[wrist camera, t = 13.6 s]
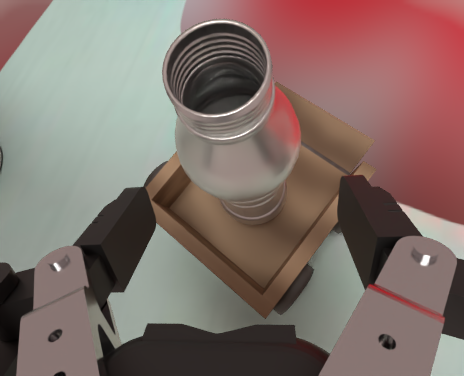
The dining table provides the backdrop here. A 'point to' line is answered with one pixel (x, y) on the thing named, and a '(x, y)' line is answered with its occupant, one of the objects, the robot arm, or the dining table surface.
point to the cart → (276, 230)
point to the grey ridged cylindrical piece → (232, 118)
